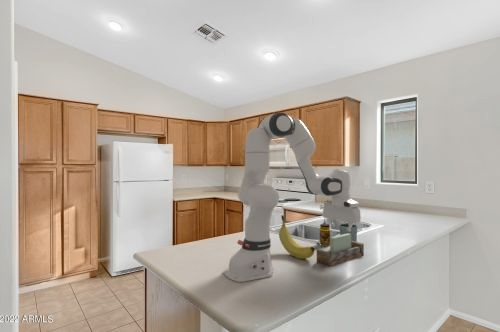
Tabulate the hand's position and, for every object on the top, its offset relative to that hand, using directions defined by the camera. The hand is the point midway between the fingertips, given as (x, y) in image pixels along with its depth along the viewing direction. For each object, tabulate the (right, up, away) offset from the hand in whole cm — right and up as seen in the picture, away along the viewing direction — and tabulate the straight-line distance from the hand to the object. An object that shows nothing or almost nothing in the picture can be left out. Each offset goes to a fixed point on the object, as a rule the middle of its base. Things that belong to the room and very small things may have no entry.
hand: (340, 229), depth 136 cm
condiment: (-1, -15, +25) cm, 29 cm away
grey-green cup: (+12, -15, +22) cm, 29 cm away
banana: (-22, -15, +4) cm, 27 cm away
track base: (0, -15, 0) cm, 15 cm away
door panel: (0, -13, 0) cm, 13 cm away
